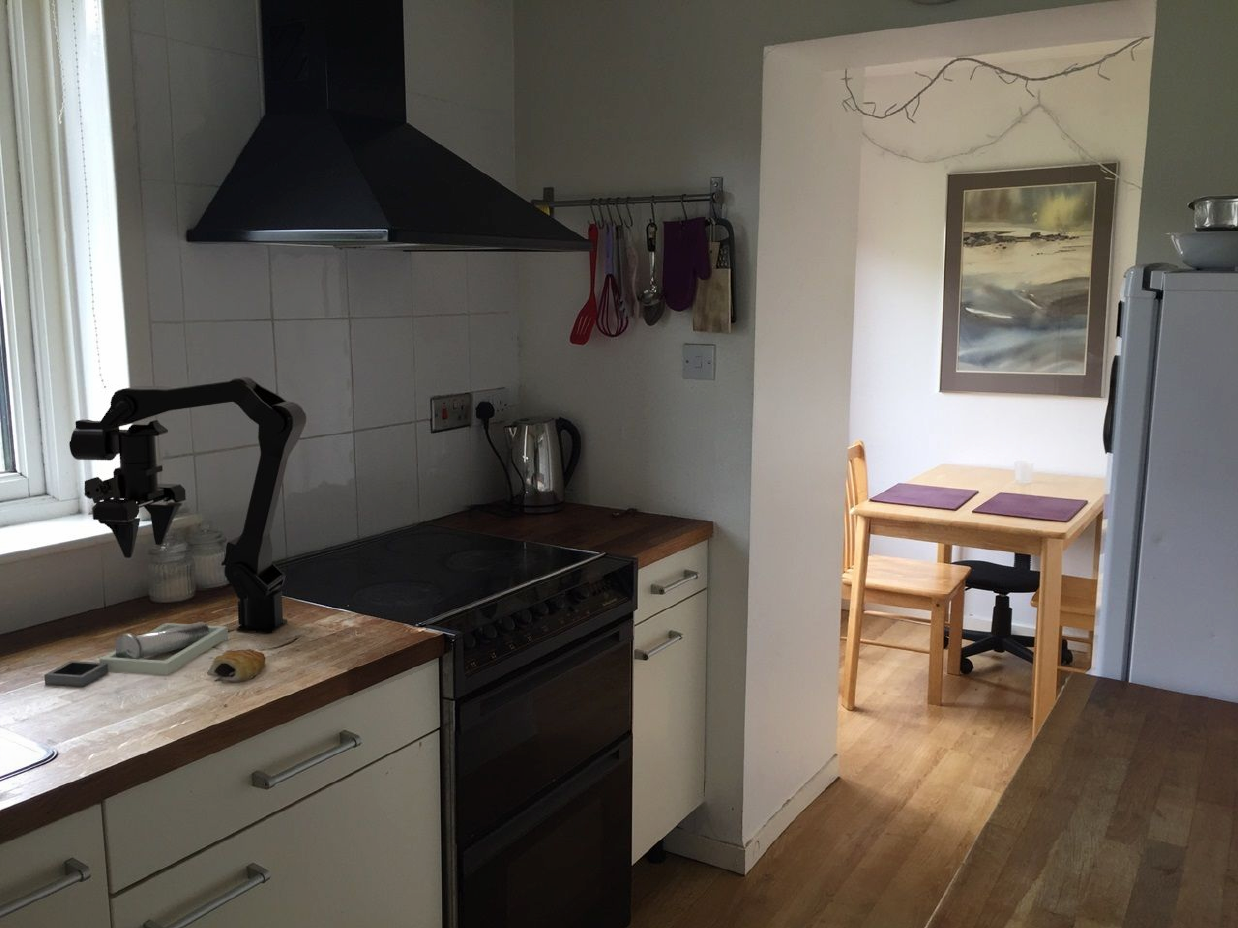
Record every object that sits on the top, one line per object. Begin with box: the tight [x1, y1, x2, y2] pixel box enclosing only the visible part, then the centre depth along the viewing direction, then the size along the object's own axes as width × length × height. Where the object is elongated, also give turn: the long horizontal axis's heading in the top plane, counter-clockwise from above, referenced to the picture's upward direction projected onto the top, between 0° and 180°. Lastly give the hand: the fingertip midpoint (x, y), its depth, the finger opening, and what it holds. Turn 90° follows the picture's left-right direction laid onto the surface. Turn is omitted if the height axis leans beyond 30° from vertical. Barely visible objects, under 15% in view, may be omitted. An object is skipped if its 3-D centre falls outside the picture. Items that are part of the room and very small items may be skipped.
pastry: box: [206, 648, 266, 683], centre depth 167 cm, size 9×7×4 cm
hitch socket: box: [44, 660, 109, 689], centre depth 161 cm, size 6×6×2 cm
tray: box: [98, 622, 229, 676], centre depth 173 cm, size 11×18×2 cm, turn 171°
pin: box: [114, 621, 210, 659], centre depth 172 cm, size 5×5×14 cm
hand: (143, 550), depth 187 cm, fingers open, 9 cm apart
